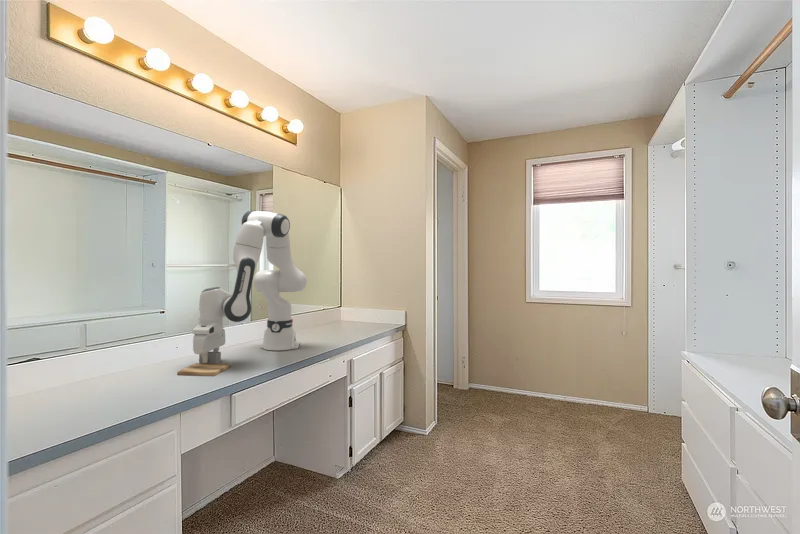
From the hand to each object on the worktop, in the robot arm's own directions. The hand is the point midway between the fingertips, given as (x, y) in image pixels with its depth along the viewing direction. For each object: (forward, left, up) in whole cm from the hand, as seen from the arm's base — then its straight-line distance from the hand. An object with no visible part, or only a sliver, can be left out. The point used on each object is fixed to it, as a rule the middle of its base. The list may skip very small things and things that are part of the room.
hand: (210, 360), depth 167 cm
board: (+10, +3, -2) cm, 10 cm away
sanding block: (0, 0, -2) cm, 2 cm away
